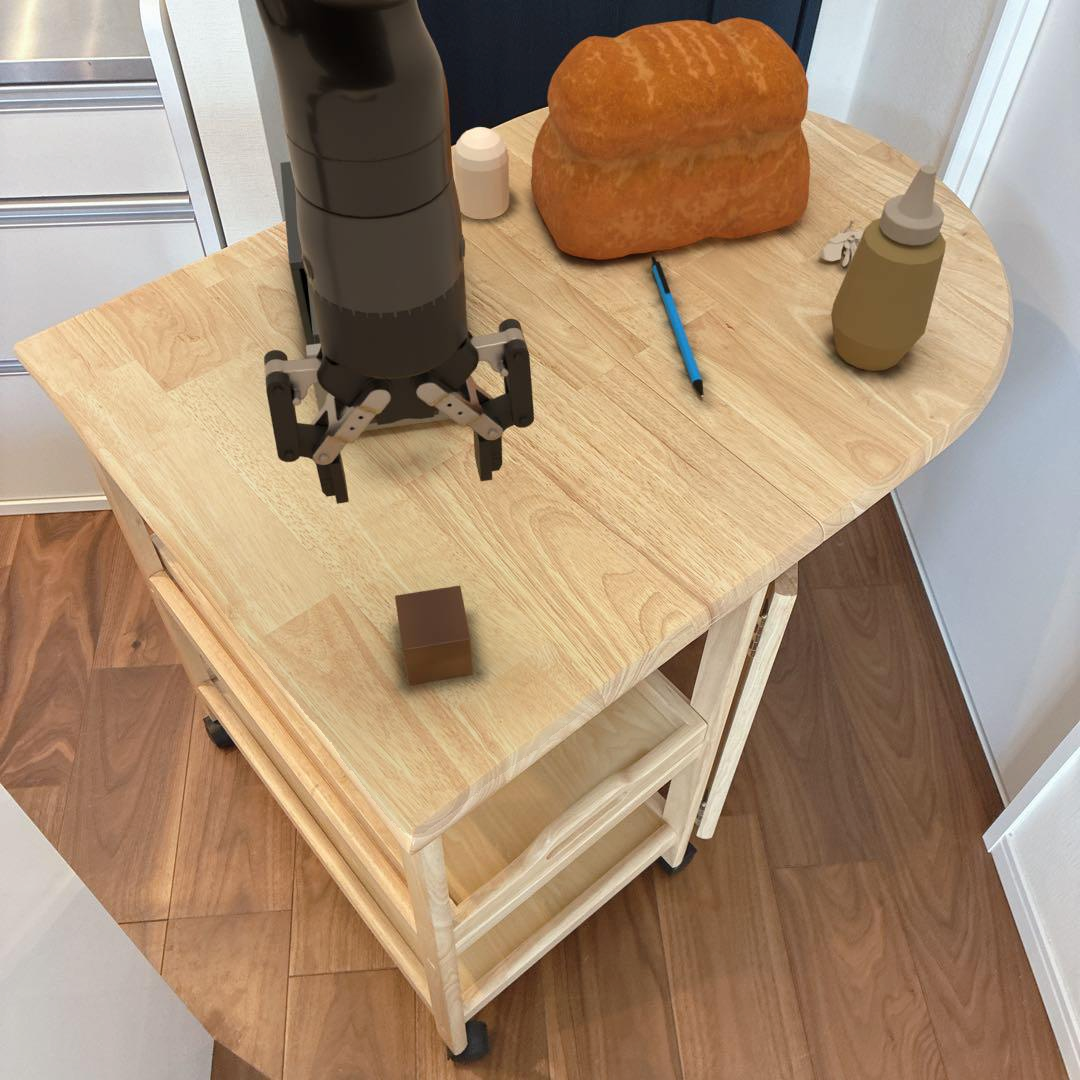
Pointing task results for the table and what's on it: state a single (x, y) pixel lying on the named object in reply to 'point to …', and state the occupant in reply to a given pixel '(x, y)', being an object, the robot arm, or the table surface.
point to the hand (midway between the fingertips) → (412, 481)
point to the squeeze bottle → (891, 279)
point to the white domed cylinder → (482, 173)
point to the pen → (677, 327)
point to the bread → (672, 139)
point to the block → (434, 635)
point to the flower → (836, 245)
